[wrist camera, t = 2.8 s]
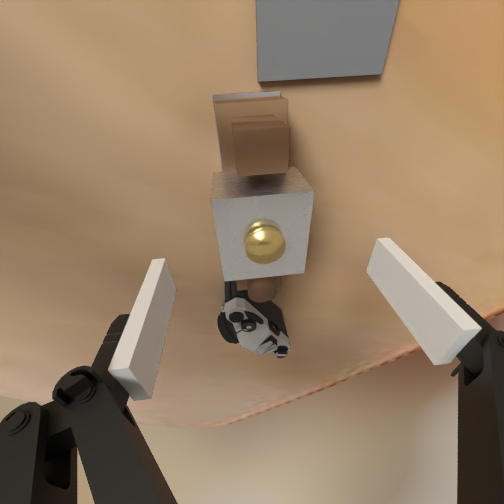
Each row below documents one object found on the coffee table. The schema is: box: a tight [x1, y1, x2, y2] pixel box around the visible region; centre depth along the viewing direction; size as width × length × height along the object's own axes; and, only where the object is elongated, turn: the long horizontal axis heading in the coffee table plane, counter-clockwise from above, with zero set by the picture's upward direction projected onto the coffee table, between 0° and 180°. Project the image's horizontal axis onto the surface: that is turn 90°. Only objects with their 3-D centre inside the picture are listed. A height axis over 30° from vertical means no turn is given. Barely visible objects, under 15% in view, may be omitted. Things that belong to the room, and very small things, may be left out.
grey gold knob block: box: [211, 166, 314, 282], centre depth 18 cm, size 6×7×6 cm
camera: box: [218, 280, 291, 358], centre depth 31 cm, size 13×8×9 cm, turn 37°
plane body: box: [213, 91, 290, 302], centre depth 21 cm, size 19×5×10 cm, turn 3°
